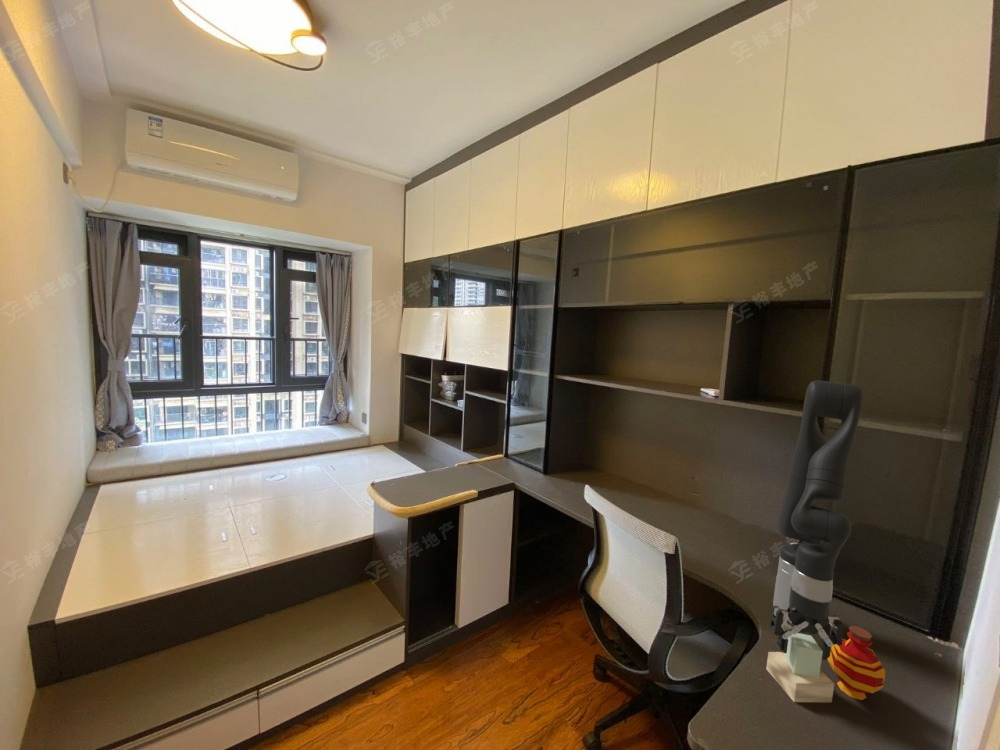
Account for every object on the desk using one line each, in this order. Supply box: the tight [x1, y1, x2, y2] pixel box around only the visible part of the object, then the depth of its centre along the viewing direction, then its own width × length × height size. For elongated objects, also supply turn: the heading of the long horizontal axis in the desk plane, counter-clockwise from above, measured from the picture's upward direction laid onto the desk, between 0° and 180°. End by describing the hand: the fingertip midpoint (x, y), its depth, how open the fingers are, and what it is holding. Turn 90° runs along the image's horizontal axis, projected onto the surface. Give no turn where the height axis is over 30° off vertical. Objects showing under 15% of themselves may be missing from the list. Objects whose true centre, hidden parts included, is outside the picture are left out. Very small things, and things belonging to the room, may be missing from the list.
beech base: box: [765, 651, 835, 703], centre depth 95 cm, size 9×9×5 cm
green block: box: [784, 632, 823, 679], centre depth 94 cm, size 5×5×7 cm
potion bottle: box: [826, 625, 886, 701], centre depth 94 cm, size 10×10×15 cm
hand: (802, 653), depth 95 cm, fingers open, 8 cm apart
